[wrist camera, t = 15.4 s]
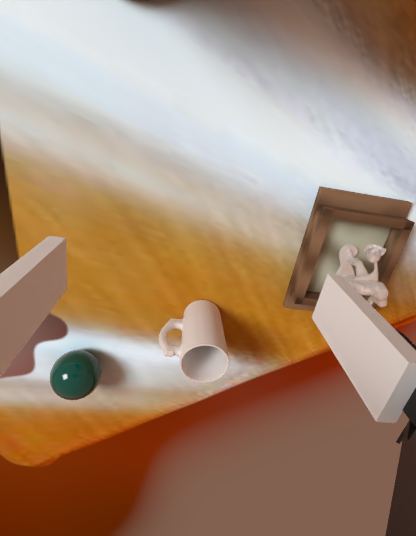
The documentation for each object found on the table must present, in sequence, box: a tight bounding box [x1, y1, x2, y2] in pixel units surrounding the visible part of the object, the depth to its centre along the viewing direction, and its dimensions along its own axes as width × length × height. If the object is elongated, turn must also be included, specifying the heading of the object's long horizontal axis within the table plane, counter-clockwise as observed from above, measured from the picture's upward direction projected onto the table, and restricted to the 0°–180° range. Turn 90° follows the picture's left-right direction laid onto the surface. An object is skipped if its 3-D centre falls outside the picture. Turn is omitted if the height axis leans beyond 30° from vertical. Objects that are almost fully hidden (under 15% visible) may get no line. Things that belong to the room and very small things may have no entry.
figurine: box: [335, 244, 389, 307], centre depth 43 cm, size 5×9×12 cm, turn 15°
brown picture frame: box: [283, 187, 414, 311], centre depth 48 cm, size 20×14×4 cm
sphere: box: [50, 350, 101, 400], centre depth 52 cm, size 8×8×8 cm
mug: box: [159, 300, 229, 383], centre depth 47 cm, size 10×7×12 cm, turn 79°
